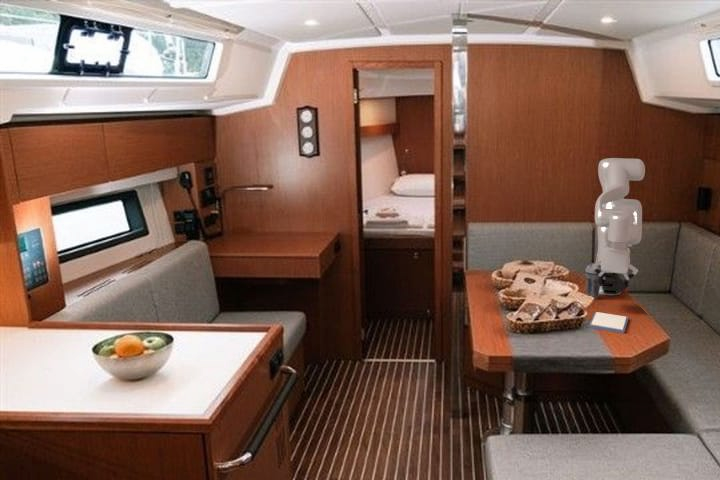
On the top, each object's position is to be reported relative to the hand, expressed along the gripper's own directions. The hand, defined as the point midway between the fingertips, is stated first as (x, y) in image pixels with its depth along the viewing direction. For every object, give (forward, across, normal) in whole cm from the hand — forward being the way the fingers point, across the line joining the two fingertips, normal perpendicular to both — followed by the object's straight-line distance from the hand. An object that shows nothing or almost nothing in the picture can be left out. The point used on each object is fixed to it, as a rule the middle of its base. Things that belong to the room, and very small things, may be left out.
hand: (612, 286), depth 232 cm
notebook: (+9, -1, +16) cm, 19 cm away
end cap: (+2, 0, 0) cm, 2 cm away
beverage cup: (+11, +9, -13) cm, 19 cm away
